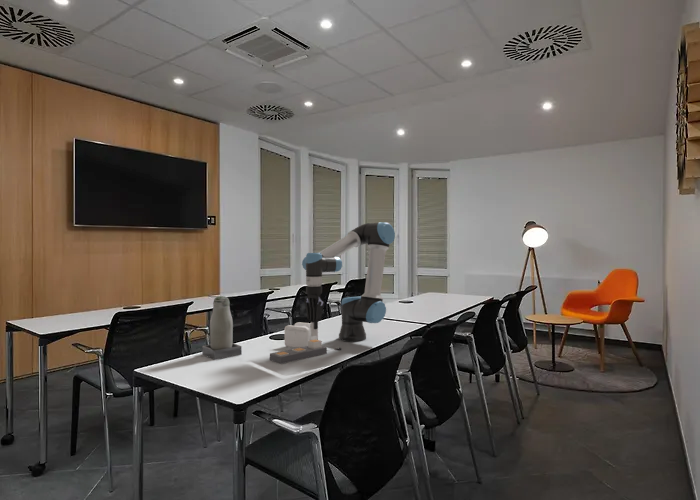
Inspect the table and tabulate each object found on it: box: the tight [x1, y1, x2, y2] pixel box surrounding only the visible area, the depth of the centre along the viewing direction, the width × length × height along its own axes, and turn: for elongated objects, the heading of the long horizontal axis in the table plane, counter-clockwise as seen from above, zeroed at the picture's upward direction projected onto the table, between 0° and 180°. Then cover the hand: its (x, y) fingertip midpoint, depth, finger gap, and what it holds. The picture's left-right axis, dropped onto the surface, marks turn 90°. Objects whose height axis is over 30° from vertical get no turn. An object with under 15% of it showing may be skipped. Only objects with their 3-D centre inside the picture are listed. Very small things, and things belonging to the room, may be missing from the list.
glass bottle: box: [209, 295, 234, 350], centre depth 205 cm, size 10×10×28 cm
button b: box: [291, 347, 306, 352], centre depth 195 cm, size 4×4×3 cm
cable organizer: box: [284, 321, 319, 348], centre depth 217 cm, size 15×11×12 cm
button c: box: [274, 351, 289, 356], centre depth 189 cm, size 4×4×3 cm
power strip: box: [269, 345, 342, 365], centre depth 199 cm, size 37×9×4 cm, turn 131°
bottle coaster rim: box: [201, 342, 243, 361], centre depth 205 cm, size 14×14×4 cm
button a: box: [308, 339, 323, 349], centre depth 201 cm, size 4×4×3 cm
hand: (314, 335), depth 200 cm, fingers closed
